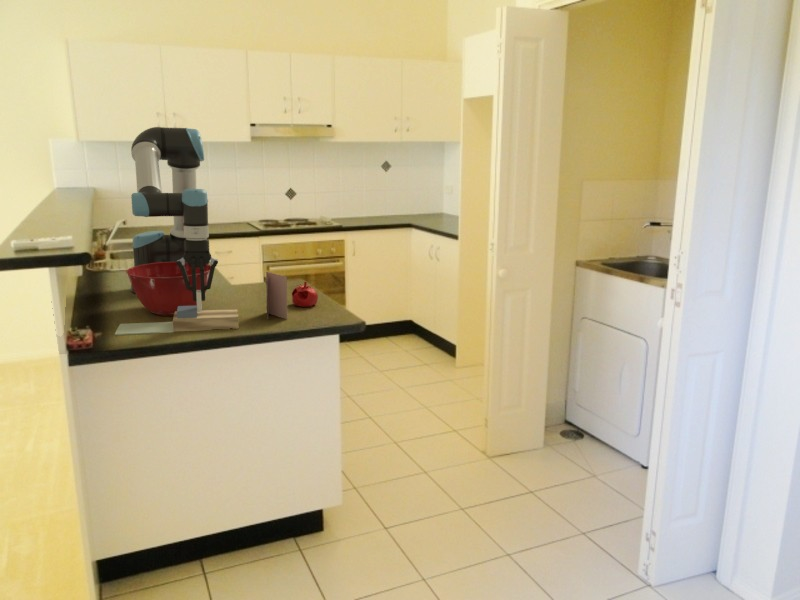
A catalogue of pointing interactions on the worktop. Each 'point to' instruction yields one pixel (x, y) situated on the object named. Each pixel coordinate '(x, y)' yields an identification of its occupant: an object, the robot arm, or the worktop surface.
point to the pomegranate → (304, 296)
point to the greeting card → (276, 295)
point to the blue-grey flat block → (187, 312)
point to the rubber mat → (145, 328)
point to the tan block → (207, 320)
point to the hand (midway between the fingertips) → (199, 310)
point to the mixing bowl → (164, 286)
